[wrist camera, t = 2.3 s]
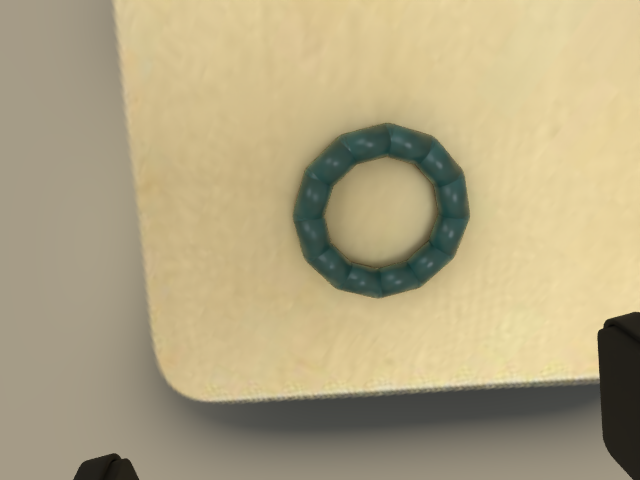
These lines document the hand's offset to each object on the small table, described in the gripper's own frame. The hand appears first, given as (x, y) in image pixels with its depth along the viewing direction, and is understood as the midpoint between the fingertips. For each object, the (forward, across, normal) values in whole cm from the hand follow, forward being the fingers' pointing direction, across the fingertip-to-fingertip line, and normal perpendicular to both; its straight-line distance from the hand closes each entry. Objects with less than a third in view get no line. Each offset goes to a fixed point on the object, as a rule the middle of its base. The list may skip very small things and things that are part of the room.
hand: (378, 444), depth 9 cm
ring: (+14, -3, 0) cm, 14 cm away
